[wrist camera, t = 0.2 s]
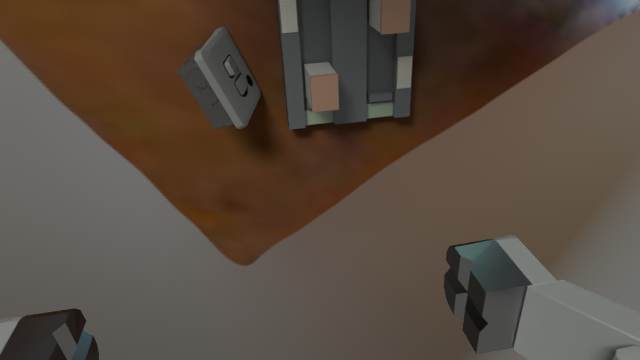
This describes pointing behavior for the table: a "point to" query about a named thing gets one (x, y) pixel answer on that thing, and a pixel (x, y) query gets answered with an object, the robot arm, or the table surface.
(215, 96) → the electrical switch
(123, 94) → the table surface
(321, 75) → the tab
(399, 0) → the tab
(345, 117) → the switch bank
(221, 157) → the table surface
